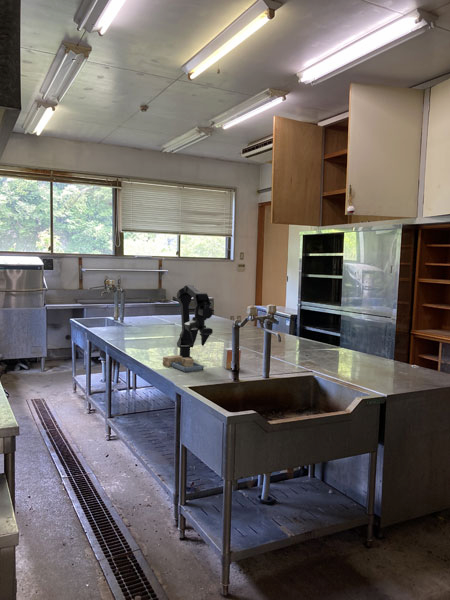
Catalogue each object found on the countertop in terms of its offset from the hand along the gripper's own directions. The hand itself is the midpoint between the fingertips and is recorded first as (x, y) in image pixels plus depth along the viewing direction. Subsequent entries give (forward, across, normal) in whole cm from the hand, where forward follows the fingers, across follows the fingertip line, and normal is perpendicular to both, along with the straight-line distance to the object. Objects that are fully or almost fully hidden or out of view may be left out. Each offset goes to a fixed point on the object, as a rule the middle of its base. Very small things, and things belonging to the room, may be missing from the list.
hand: (198, 344), depth 255 cm
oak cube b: (+12, -6, -10) cm, 16 cm away
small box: (+12, +13, +14) cm, 22 cm away
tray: (+12, +4, -9) cm, 15 cm away
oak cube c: (+12, -5, -15) cm, 19 cm away
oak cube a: (+11, +4, -9) cm, 15 cm away
